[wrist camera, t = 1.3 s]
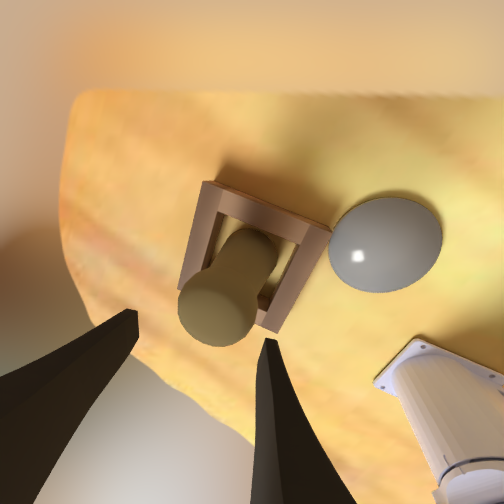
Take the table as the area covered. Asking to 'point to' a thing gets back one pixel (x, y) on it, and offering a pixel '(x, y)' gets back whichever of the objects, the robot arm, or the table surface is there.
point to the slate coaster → (384, 244)
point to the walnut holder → (266, 218)
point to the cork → (228, 290)
